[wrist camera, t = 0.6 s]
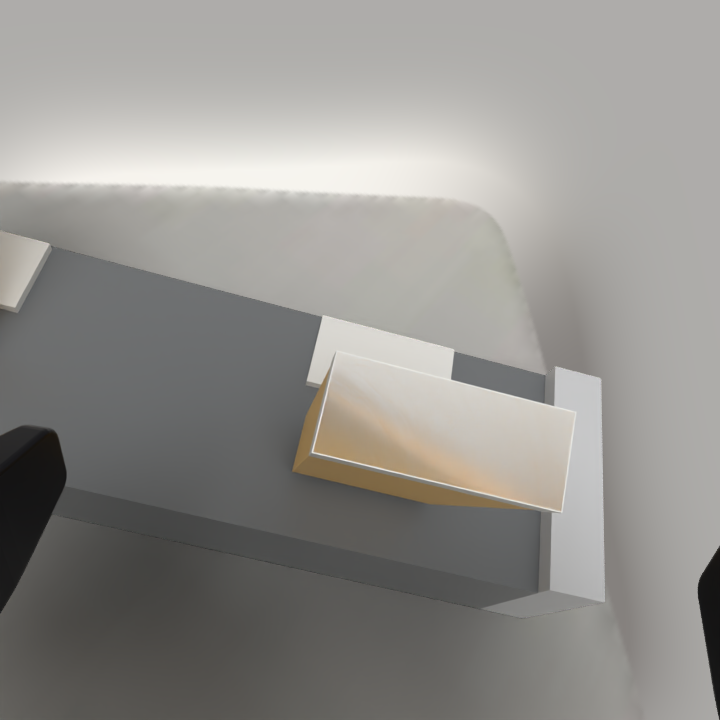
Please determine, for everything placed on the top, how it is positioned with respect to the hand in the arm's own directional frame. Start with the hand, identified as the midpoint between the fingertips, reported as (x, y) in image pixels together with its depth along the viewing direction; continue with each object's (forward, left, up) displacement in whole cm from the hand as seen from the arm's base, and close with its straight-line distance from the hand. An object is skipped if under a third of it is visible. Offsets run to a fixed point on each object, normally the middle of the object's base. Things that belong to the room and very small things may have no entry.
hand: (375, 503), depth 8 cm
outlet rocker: (+4, -1, -9) cm, 9 cm away
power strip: (+5, +5, -13) cm, 15 cm away
